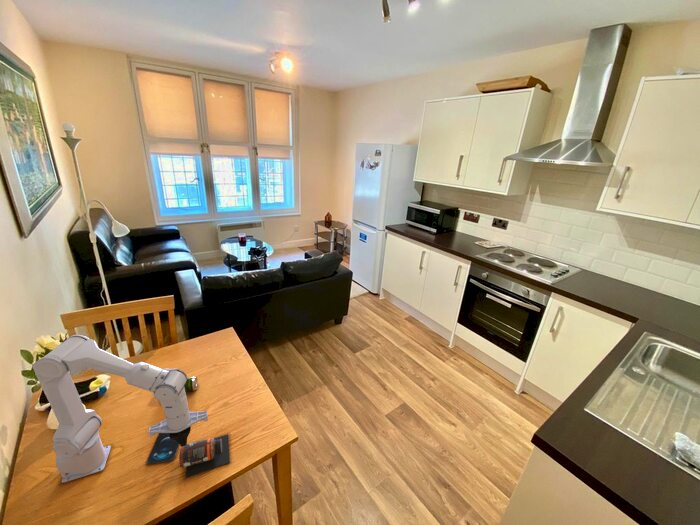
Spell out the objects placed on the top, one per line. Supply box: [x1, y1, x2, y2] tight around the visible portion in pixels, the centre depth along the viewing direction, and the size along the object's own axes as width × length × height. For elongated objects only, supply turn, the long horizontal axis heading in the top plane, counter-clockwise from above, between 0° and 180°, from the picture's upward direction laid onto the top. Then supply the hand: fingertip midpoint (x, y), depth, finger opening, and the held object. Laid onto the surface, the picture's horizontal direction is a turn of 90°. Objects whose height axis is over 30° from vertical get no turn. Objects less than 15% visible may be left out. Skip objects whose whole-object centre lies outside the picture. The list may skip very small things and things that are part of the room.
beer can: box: [184, 376, 198, 393], centre depth 111 cm, size 5×5×12 cm
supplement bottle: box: [178, 437, 222, 469], centre depth 88 cm, size 6×6×11 cm
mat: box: [185, 434, 231, 479], centre depth 90 cm, size 12×10×1 cm
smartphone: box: [146, 433, 180, 464], centre depth 94 cm, size 8×1×15 cm
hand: (184, 443), depth 85 cm, fingers closed
